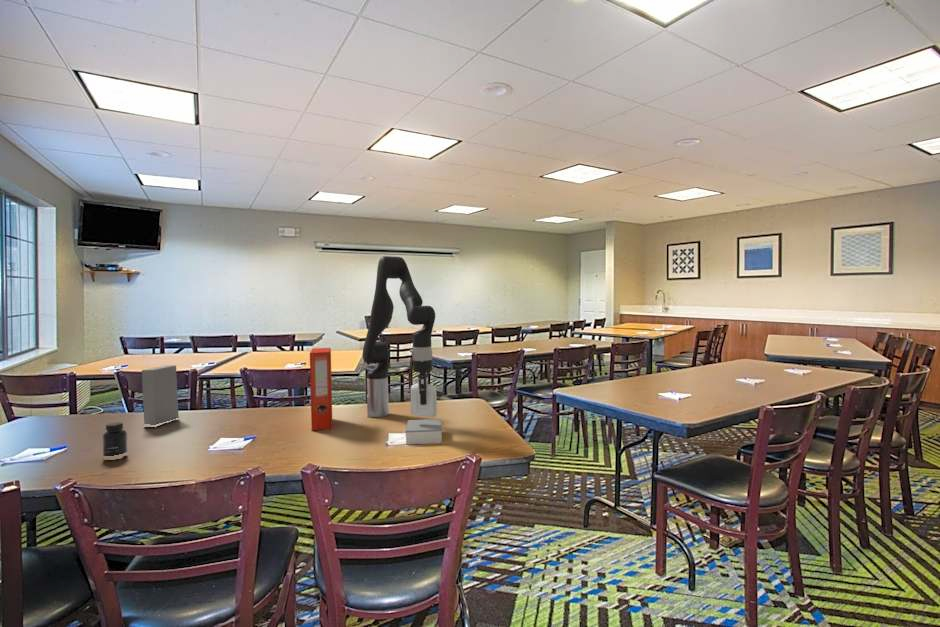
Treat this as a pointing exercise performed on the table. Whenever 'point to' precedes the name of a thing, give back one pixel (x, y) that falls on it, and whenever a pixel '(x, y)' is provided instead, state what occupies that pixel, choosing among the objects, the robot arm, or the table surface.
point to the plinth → (424, 431)
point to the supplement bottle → (114, 440)
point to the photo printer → (431, 401)
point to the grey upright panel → (160, 394)
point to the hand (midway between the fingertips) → (423, 402)
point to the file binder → (321, 388)
